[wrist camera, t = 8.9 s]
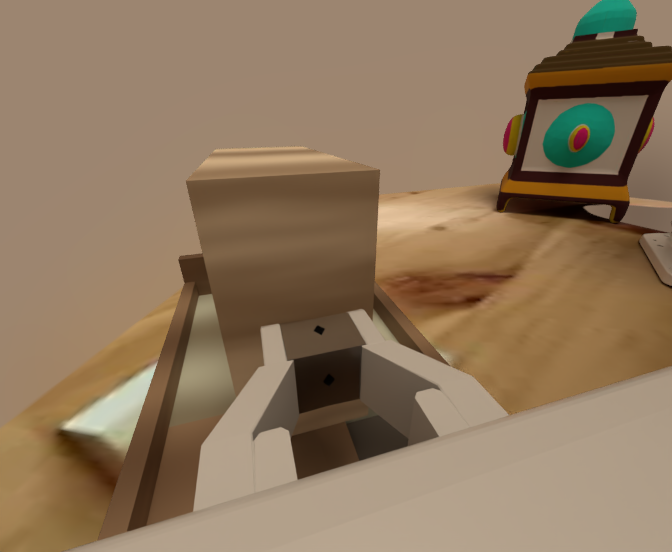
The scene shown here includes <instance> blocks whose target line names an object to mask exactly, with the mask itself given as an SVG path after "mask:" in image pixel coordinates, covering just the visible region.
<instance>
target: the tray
mask: <svg viewBox="0 0 672 552" xmlns="http://www.w3.org/2000/svg"><path fill="white" fill-rule="evenodd" d="M179 264H180V267H181V271H182V275H183V278H184V282H185V284H184V286H183V289H182V292H181V295H180V298H179V301H178V304H177V307H176V310H175V313H174V316H173V319H172V322H171V325H170V328H169V331H168V334H167V337H166V340H165V343H164V346H163V348H162V351H161V354H160V357H159V360H158V363H157V366H156V369H155V372H154V375H153V378H152V381H151V384H150V387H149V390H148V393H147V396H146V399H145V402H144V405H143V408H142V410H141V413H140V416H139V419H138V422H137V425H136V428H135V431H134V434H133V437H132V440H131V443H130V446H129V449H128V452H127V455H126V458H125V461H124V464H123V467H122V470H121V472H120V475H119V478H118V481H117V484H116V487H115V490H114V493H113V496H112V499H111V502H110V505H109V508H108V511H107V514H106V517H105V520H104V523H103V526H102V529H101V532H100V534H99V537H98V540H102V539H105V538H108V537H112V536H115V535H118V534H121V533H125V532H128V531H131V530H135V529H138V528H141V527H144V526H148V525H151V524H154V523H158V522H161V521H164V520H167V519H171V518H174V517H177V516H181V515H184V514H187V513H190V512H193V509H194V500H195V492H196V484H197V476H198V468H199V460H200V452H201V445H202V444H203V443H204V441H205V440H206V439H207V437H208V436H209V434H210V433H211V432H212V430H213V429H214V428H215V426H216V425H217V423H218V422H219V421H220V419H221V418H222V417H223V415H224V414H225V413H226V411H227V410H228V408H229V407H230V406H231V404H232V403H233V402H234V400H235V399H236V395H235V391H234V386H233V382H232V378H231V373H230V369H229V365H228V361H227V356H226V352H225V348H224V343H223V339H222V335H221V330H220V326H219V322H218V317H217V313H216V309H215V305H214V300H213V296H212V292H211V287H210V283H209V279H208V274H207V270H206V266H205V261H204V257H203V254H195V255H185V256H180V257H179ZM373 323H374V324H375V326H376V327H377V329H378V330H379V332H380V333H381V334H382V336H383V337H384V339H385V340H386V341H388V340H392V341H394V342H397V343H399V344H401V345H403V346H406V347H408V348H410V349H412V350H414V351H417V352H419V353H421V354H423V355H426V356H428V357H430V358H432V359H435V360H437V361H439V362H441V363H444V364H446V365H448V366H450V365H449V364H448V363H447V362H446V361H445V360H444V359H443V357H442V356H441V355H440V354H439V353H438V352H437V351H436V350H435V348H434V347H433V346H432V345H431V344H430V343H429V342H428V341H427V339H426V338H425V337H424V336H423V335H422V334H421V333H420V332H419V330H418V329H417V328H416V327H415V326H414V325H413V324H412V323H411V321H410V320H409V319H408V318H407V317H406V316H405V315H404V314H403V312H402V311H401V310H400V309H399V308H398V307H397V306H396V305H395V303H394V302H393V301H392V300H391V299H390V298H389V297H388V296H387V294H386V293H385V292H384V291H383V290H382V289H381V288H380V287H379V285H378V284H377V283H376V282H374V303H373ZM450 367H451V366H450ZM290 440H291V446H292V452H293V457H294V463H295V468H296V474H297V480H299V479H302V478H305V477H309V476H312V475H315V474H318V473H322V472H325V471H328V470H332V469H335V468H338V467H341V466H345V465H348V464H351V463H355V462H358V461H361V460H364V459H368V458H371V457H374V456H378V455H381V454H384V453H387V452H391V451H394V450H397V449H401V448H404V447H407V446H408V440H409V439H408V438H407V437H405V436H404V435H403V434H402V433H400V432H399V431H398V430H397V429H395V428H394V427H393V426H392V425H390V424H389V423H388V422H387V421H385V420H384V419H383V418H382V417H380V416H379V415H378V414H377V413H375V412H374V411H373V410H372V409H370V408H369V407H368V415H367V416H363V417H360V418H356V419H352V420H349V421H345V422H341V423H338V424H334V425H330V426H327V427H323V428H319V429H316V430H312V431H308V432H305V433H301V434H297V435H294V436H292V437H291V439H290ZM98 540H97V541H98Z"/></svg>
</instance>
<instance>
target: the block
mask: <svg viewBox="0 0 672 552" xmlns="http://www.w3.org/2000/svg"><path fill="white" fill-rule="evenodd" d="M379 177H380V170H379V169H376V168H372V167H369V166H366V165H362V164H359V163H356V162H352V161H349V160H346V159H342V158H339V157H336V156H332V155H329V154H325V153H322V152H319V151H316V150H312V149H309V148H306V147H302V146H290V147H262V148H261V147H258V148H232V149H231V148H229V149H215V151H214V152H213V153H212V154H211V155H210V156H209V157H208V158H207V159H206V160H205V161H204V162H203V163H202V164H201V165H200V166H199V167H198V169H197V170H196V171H195V172H194V173H193V174H192V175H191V176H190V177H189V178H188V179H187V180H186V184H187V188H188V192H189V197H190V201H191V205H192V210H193V214H194V218H195V222H196V227H197V231H198V236H199V240H200V244H201V248H202V252H203V257H204V261H205V266H206V270H207V274H208V279H209V283H210V287H211V292H212V296H213V300H214V305H215V309H216V313H217V317H218V322H219V326H220V330H221V335H222V339H223V343H224V348H225V352H226V356H227V361H228V365H229V369H230V373H231V378H232V382H233V386H234V391H235V395H236V397H237V396H238V395H239V393H240V392H241V391H242V389H243V388H244V387H245V385H246V384H247V382H248V381H249V380H250V378H251V377H252V376H253V374H254V373H255V372H256V370H257V369H258V367H262V366H264V358H263V349H262V339H261V330H260V329H261V327H262V326H267V325H273V324H279V323H286V322H292V321H299V320H305V319H312V318H320V317H325V316H330V315H336V314H341V313H346V312H349V311H354V310H359V309H363V310H365V312H366V313H367V314H368V316H369V317H370V319H371V320H372V322H373V303H374V282H375V261H376V241H377V220H378V199H379ZM279 325H280V324H279ZM367 415H368V406H366V405H365V404H364V403H363V402H361V401H360V399H357V400H353V401H348V402H343V403H339V404H334V405H330V406H326V407H323V408H319V409H316V410H312V411H308V412H305V413H301V414H299V418H298V421H297V423H296V426H295V429H294V431H293V434H292V436H294V435H297V434H301V433H305V432H308V431H312V430H316V429H319V428H323V427H327V426H330V425H334V424H338V423H341V422H345V421H349V420H352V419H356V418H360V417H363V416H367Z"/></svg>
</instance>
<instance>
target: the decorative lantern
mask: <svg viewBox="0 0 672 552" xmlns="http://www.w3.org/2000/svg"><path fill="white" fill-rule="evenodd" d="M636 14H637V12H636V9H635V8H634V7H633V5H632V4H631V3H630V1H629V0H602V1H600V2H599V3H597V4H596V5H595V6H594V7H593V8H592V9H590V11H589V12H587V14H585V15H584V17H583V18H582V19H581V20H580V21H579V23H578V25H577V27H576V30H575V33H574V36H573V39H572V41H571V43H570V44H568V45H567V46H566V47H565V49H564V50H562V51H560V52H559V53H558V54H557V55H556V56H552V57H547V58H544V59H543V61H542V62H541V64H538V65H536V66H535V67H534V69H533V70H532V71H531V72H529V73H528V76H527V79H526V82H525V94H526V97H527V101H526V107H525V111H524V114H522V115H517V116H515V117H513V118H512V119H511V120H510V122H509V123H508V126H507V128H506V131H505V134H504V140H503V148H504V151H505V153H506V154H508V155H514V158H513V162H512V165H511V167H510V169H509V170H508V171H507V172H506V174H505V175H504V177H503V179H502V181H501V186H500V192H499V196H498V202H497V210H498V211H499V212H503V211H504V210H505V208H506V205H507V203H508V201H509V200H510V199H511V198H527V199H540V200H553V201H566V202H580V203H593V204H606V205H610V206H611V207H612V210H611V213H610V218H609V220H610V222H611V223H618V222H620V221H621V220H622V218H623V217H624V215H625V213H626V211H627V209H628V206H629V203H630V202H629V192H628V187H627V180H628V176H629V174H630V171H631V169H632V167H633V164H634V161H635V159H636V157H637V154H638V153H639V152H640V151H641V150H642V149H643V148H644V146H646V144H647V143H648V141H649V139H650V136H651V134H652V132H653V129H654V118H653V115H654V112H655V110H656V108H657V105H658V102H659V100H660V98H661V95H662V93H663V91H664V89H665V87H666V86H667V84H668V83H669V82H670V81H671V80H672V47H671V46H659V47H652V43H651V42H645V41H644V37H643V36H637V31H638V29H633V27H634V24H635V20H636Z"/></svg>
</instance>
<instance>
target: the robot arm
mask: <svg viewBox="0 0 672 552" xmlns="http://www.w3.org/2000/svg"><path fill="white" fill-rule="evenodd" d="M671 224H672V223H671ZM639 242H640V244H641V246H642V248H643V249H644V251H645V253H646V255H647V256H648V258H649V260H650V261H651V263H652V265H653V267H654V268H655V270H656V272H657V274H658V275H659V277H660V279H661V280H662V281H663V282H664V283H666V284H668V285H670V286H672V232H671V233H653V234H644V235H642V237H641V239H640V240H639ZM279 324H280V325H279ZM279 324H273V325H267V326H262V327H261V329H260V330H261V339H262V349H263V358H264V366H262V367H258V369H257V370H256V372H255V373H254V374H253V376H252V377H251V378H250V380H249V381H248V382H247V384H246V385H245V387H244V388H243V389H242V391H241V392H240V393H239V395H238V396H237V397H236V399H235V400H234V402H233V403H232V404H231V406H230V407H229V408H228V410H227V411H226V413H225V414H224V415H223V417H222V418H221V419H220V421H219V422H218V423H217V425H216V426H215V428H214V429H213V430H212V432H211V433H210V434H209V436H208V437H207V439H206V440H205V441H204V443H203V444H202V445H201V452H200V460H199V468H198V476H197V484H196V492H195V500H194V509H193V512H190V513H187V514H184V515H181V516H177V517H174V518H171V519H167V520H164V521H161V522H158V523H154V524H151V525H148V526H144V527H141V528H138V529H135V530H131V531H128V532H125V533H121V534H118V535H115V536H112V537H108V538H105V539H102V540H98V541H95V542H92V543H89V544H85V545H82V546H79V547H75V548H72V549H69V550H66V551H62V552H672V366H670V367H666V368H663V369H660V370H657V371H653V372H650V373H647V374H643V375H640V376H637V377H633V378H630V379H627V380H624V381H620V382H617V383H614V384H610V385H607V386H604V387H601V388H597V389H594V390H591V391H587V392H584V393H581V394H578V395H574V396H571V397H568V398H564V399H561V400H558V401H555V402H551V403H548V404H545V405H541V406H538V407H535V408H532V409H528V410H525V411H522V412H518V413H515V414H512V415H509V414H508V413H507V412H506V411H505V410H504V409H503V408H502V407H501V406H500V405H499V404H498V403H497V402H496V401H495V399H494V398H493V397H492V396H491V395H490V394H489V393H488V392H487V391H486V390H485V389H484V388H483V387H482V386H481V385H480V383H479V382H478V381H477V380H476V379H475V378H474V377H473V376H471V375H468V374H466V373H464V372H462V371H459V370H457V369H455V368H453V367H450V366H448V365H446V364H444V363H441V362H439V361H437V360H435V359H432V358H430V357H428V356H426V355H423V354H421V353H419V352H417V351H414V350H412V349H410V348H408V347H406V346H403V345H401V344H399V343H397V342H394V341H392V340H388V341H386V340H385V339H384V337H383V336H382V334H381V333H380V332H379V330H378V329H377V327H376V326H375V324H374V323H373V322H372V320H371V319H370V317H369V316H368V314H367V313H366V312H365V310H363V309H359V310H354V311H349V312H346V313H341V314H336V315H330V316H325V317H320V318H312V319H305V320H299V321H292V322H286V323H279ZM357 399H360V401H361V402H363V403H364V404H365V405H366V406H368V407H369V408H370V409H372V410H373V411H374V412H375V413H377V414H378V415H379V416H380V417H382V418H383V419H384V420H385V421H387V422H388V423H389V424H390V425H392V426H393V427H394V428H395V429H397V430H398V431H399V432H400V433H402V434H403V435H404V436H405V437H407V438H408V439H409V440H408V446H407V447H404V448H401V449H397V450H394V451H391V452H387V453H384V454H381V455H378V456H374V457H371V458H368V459H364V460H361V461H358V462H355V463H351V464H348V465H345V466H341V467H338V468H335V469H332V470H328V471H325V472H322V473H318V474H315V475H312V476H309V477H305V478H302V479H299V480H297V474H296V468H295V463H294V457H293V452H292V446H291V440H290V439H291V437H292V434H293V431H294V429H295V426H296V423H297V421H298V418H299V414H301V413H305V412H308V411H312V410H316V409H319V408H323V407H326V406H330V405H334V404H339V403H343V402H348V401H353V400H357Z"/></svg>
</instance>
